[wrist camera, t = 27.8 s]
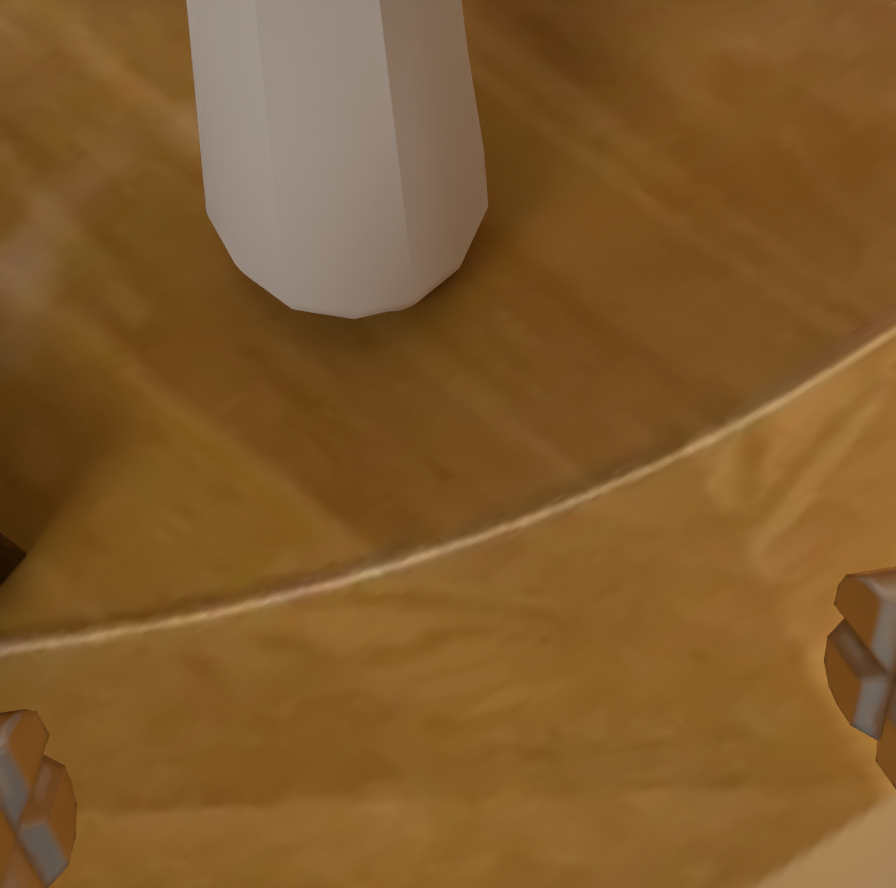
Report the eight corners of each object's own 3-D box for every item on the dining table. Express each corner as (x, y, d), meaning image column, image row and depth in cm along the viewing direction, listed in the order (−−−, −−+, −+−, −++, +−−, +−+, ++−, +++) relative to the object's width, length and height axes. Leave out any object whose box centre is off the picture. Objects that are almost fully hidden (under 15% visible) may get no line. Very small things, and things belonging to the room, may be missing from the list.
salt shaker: (337, 404, 19) (193, -114, 6) (179, 226, 20) (-224, -541, 7) (529, 249, 20) (735, -450, 7) (372, 88, 21) (316, -780, 8)
